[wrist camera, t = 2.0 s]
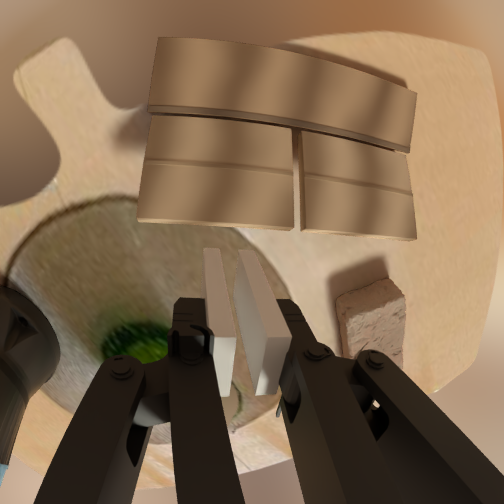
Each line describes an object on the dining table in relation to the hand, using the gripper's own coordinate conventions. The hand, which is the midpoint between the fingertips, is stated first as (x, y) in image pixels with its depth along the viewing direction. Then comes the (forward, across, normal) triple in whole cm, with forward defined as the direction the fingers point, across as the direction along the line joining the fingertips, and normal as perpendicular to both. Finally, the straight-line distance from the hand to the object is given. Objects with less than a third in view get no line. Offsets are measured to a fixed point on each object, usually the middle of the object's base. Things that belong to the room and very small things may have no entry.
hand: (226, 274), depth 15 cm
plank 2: (+11, +13, +3) cm, 18 cm away
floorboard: (+14, +6, +12) cm, 20 cm away
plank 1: (+11, 0, +3) cm, 12 cm away
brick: (+15, +22, -16) cm, 31 cm away
